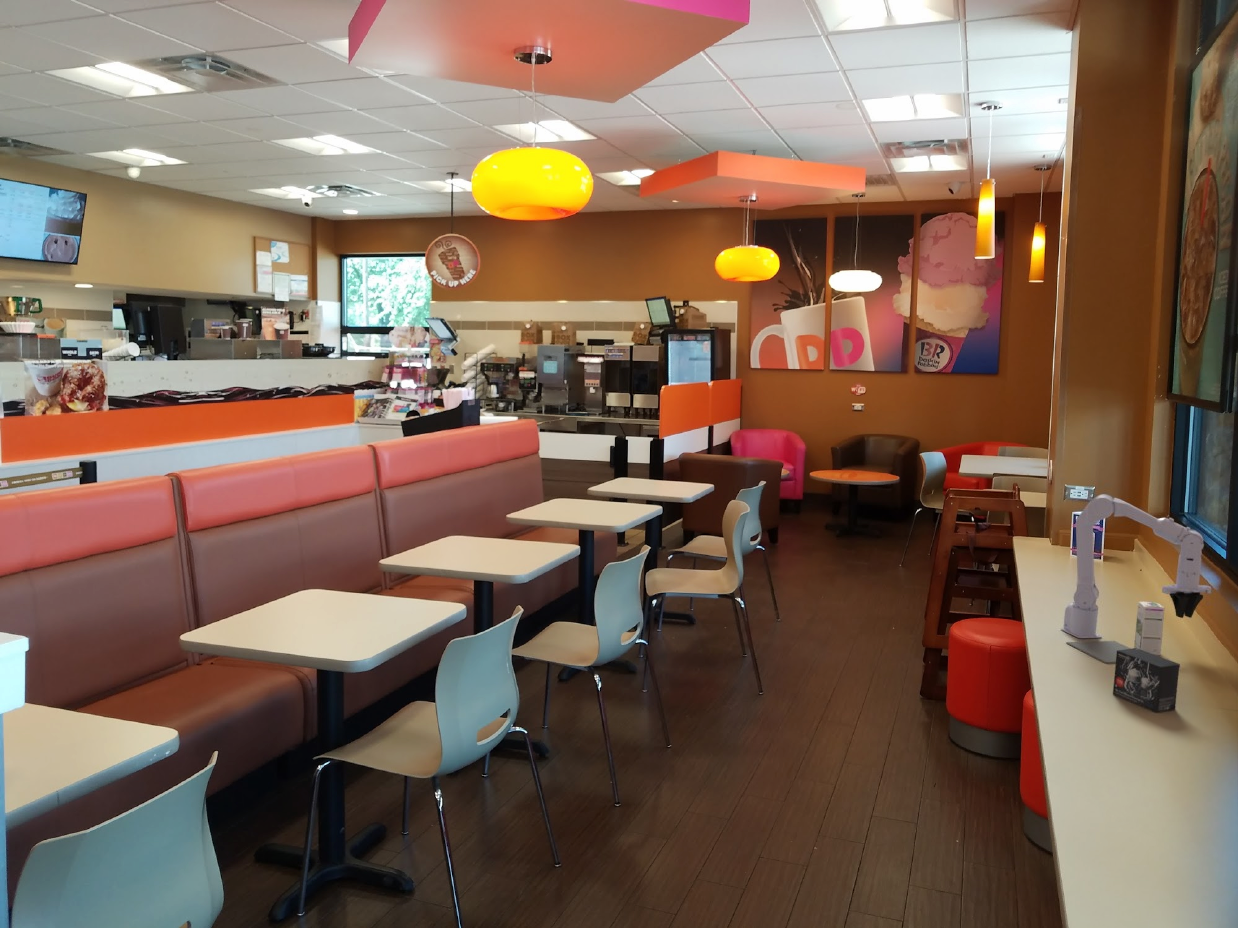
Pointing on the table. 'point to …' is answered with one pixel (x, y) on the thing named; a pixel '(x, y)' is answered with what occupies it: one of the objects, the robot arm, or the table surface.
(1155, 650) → the syrup box
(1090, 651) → the grey mat
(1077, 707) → the table surface
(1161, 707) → the small box
